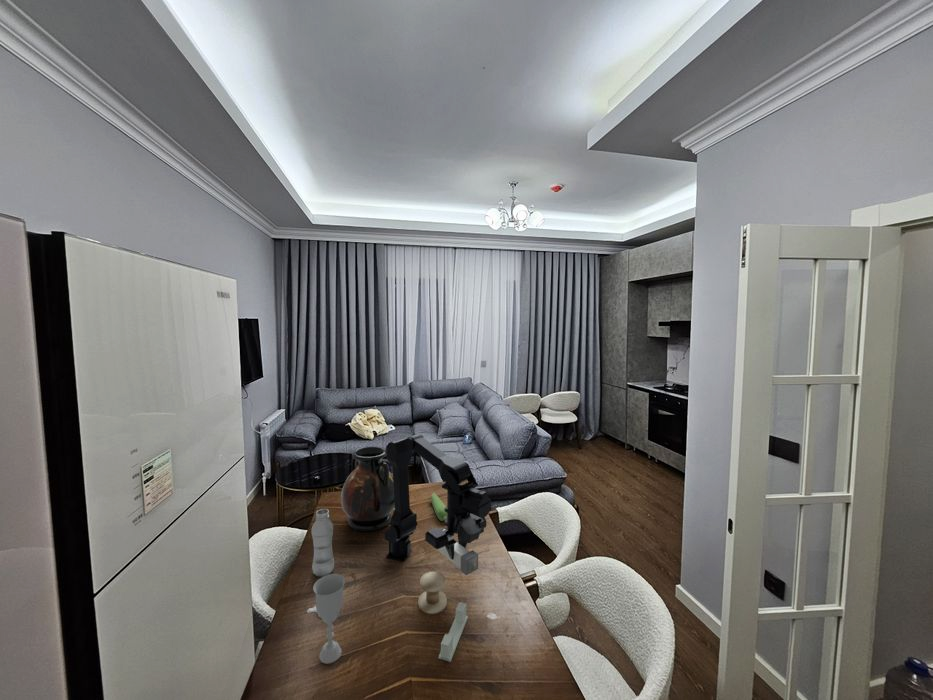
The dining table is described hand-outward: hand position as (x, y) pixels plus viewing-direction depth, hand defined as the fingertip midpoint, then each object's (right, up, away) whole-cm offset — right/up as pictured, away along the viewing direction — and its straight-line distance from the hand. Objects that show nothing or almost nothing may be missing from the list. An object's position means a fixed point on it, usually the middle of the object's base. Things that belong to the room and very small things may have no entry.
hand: (456, 556), depth 115 cm
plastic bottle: (-42, -9, +7) cm, 43 cm away
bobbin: (-7, -11, -4) cm, 13 cm away
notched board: (0, -12, -16) cm, 20 cm away
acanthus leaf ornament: (-37, -11, -7) cm, 39 cm away
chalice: (-30, -12, -21) cm, 39 cm away
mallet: (0, -1, 0) cm, 1 cm away
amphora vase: (-35, -6, +37) cm, 51 cm away
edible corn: (-9, -6, +46) cm, 47 cm away
